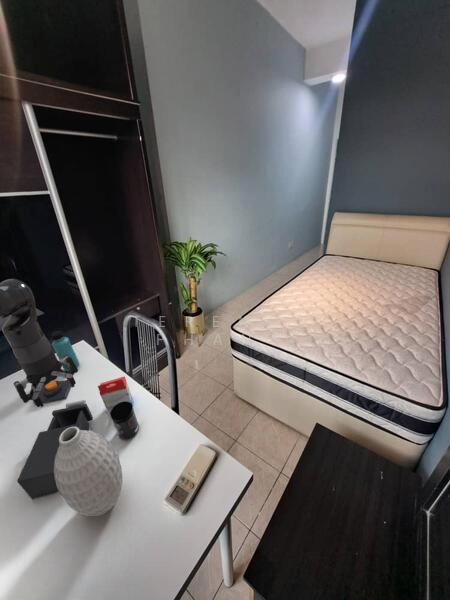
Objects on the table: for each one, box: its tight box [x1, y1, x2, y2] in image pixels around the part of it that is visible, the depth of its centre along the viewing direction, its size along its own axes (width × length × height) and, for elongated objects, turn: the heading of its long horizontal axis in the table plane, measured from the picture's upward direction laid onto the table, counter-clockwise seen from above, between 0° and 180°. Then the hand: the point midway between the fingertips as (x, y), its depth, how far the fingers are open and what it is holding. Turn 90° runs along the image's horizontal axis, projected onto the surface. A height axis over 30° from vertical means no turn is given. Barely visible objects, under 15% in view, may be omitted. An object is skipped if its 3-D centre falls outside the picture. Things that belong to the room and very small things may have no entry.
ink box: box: [97, 376, 134, 416], centre depth 88 cm, size 8×5×15 cm, turn 111°
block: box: [32, 379, 72, 405], centre depth 98 cm, size 11×9×4 cm
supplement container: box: [109, 401, 140, 440], centre depth 80 cm, size 7×7×10 cm
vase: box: [54, 427, 124, 517], centre depth 59 cm, size 13×13×28 cm
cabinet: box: [16, 423, 84, 500], centre depth 71 cm, size 14×12×9 cm
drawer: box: [47, 399, 94, 431], centre depth 81 cm, size 17×10×7 cm, turn 13°
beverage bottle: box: [50, 330, 80, 371], centre depth 105 cm, size 6×7×20 cm
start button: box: [45, 380, 57, 391], centre depth 97 cm, size 4×4×2 cm
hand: (57, 395), depth 73 cm, fingers open, 8 cm apart
